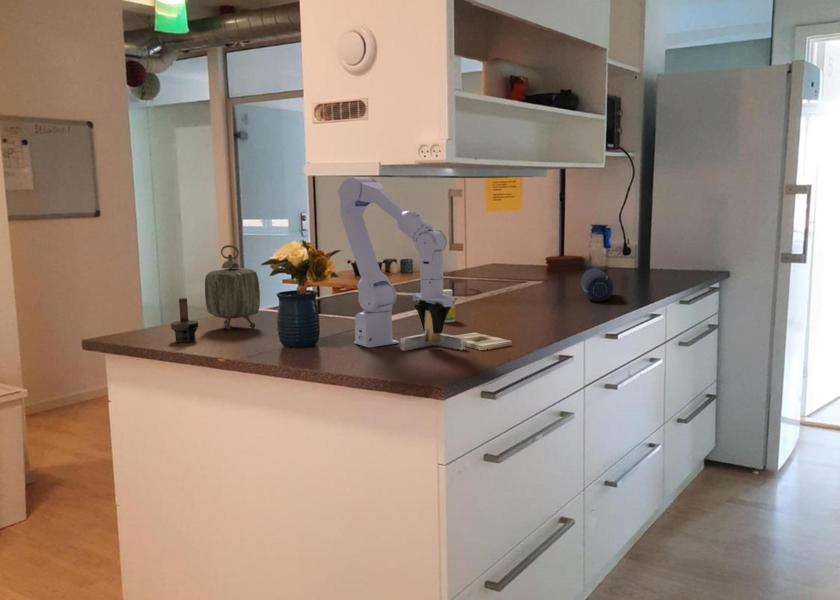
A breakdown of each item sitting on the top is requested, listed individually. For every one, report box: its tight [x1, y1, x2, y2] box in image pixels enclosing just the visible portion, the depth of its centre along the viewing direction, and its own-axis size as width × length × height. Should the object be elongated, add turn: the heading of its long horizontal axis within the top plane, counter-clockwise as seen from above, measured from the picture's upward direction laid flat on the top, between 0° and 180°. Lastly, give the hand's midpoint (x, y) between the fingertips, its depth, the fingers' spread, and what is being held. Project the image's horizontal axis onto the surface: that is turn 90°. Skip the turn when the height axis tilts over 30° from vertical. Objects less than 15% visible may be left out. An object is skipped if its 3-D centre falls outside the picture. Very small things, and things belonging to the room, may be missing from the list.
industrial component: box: [170, 297, 199, 343], centre depth 214 cm, size 9×7×12 cm
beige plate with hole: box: [455, 332, 513, 351], centre depth 203 cm, size 15×10×1 cm, turn 34°
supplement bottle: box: [443, 289, 456, 324], centre depth 237 cm, size 5×5×10 cm
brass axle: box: [424, 309, 441, 343], centre depth 197 cm, size 4×4×8 cm
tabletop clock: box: [204, 244, 261, 331], centre depth 231 cm, size 14×9×25 cm, turn 59°
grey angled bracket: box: [399, 332, 466, 352], centre depth 200 cm, size 9×16×3 cm, turn 87°
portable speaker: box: [580, 267, 614, 303], centre depth 280 cm, size 25×10×10 cm, turn 172°
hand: (432, 331), depth 197 cm, fingers closed on brass axle, 4 cm apart
